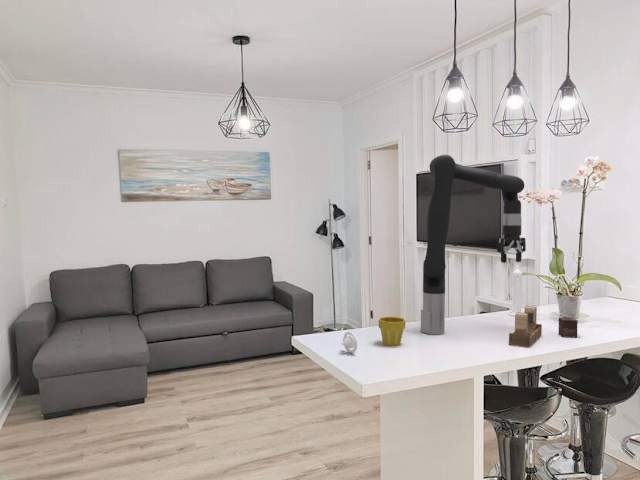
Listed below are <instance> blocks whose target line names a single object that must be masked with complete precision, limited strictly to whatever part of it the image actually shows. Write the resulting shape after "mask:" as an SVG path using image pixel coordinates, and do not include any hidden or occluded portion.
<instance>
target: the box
mask: <svg viewBox="0 0 640 480" xmlns="http://www.w3.org/2000/svg"><path fill="white" fill-rule="evenodd" d="M557 333H558V335H559V336H561V337H562V338H575V339H576V338H578V320H577V319H576V318H575V317H572V316H571V317H570V316H569V317H567V316H566V317H565V316H560V317H558V332H557Z"/></svg>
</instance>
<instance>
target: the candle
mask: <svg viewBox="0 0 640 480" xmlns="http://www.w3.org/2000/svg"><path fill="white" fill-rule="evenodd" d="M511 273H512V274H511V275H512V276H511V277H512V278H511V279H512V280H511V281H512V282H511V312H509V313H508V316H510V317H514V318H515V314H516V313H517V312H520V313H522V298H523V297H522V295H523V293H522V292H523V291H522V290H523V289H522V288H523V272H522V271H521V270H520V269H519V265H516V268H515V270H514V271H512V272H511ZM517 276H518V277H517Z"/></svg>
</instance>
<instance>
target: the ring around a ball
mask: <svg viewBox="0 0 640 480" xmlns="http://www.w3.org/2000/svg"><path fill="white" fill-rule="evenodd" d="M348 335H349V336H348ZM340 344H341V345H343V346H344V348H345V351H346V352H347V353H349V354H353V353H355V352H356V351H357V349H358V339H357V336H356V334H355V333H354V332H353V331H350V330H348V331H345V333H344V335H343V340H342V342H341V343H340Z"/></svg>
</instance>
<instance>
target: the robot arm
mask: <svg viewBox="0 0 640 480" xmlns="http://www.w3.org/2000/svg"><path fill="white" fill-rule="evenodd" d="M429 171H430V173H431V174H432V175H433V176H434V182H433V183H434V184H433V185H434V187H433V192H432V194H431V197H430V200H429V204H428V207H427V208H428V209H427V218H426V220H427V221H426V235H427V238H426V239H427V245H426V247H427V248H426V250H425V251H426V253H425V257H424V261H423V263H422V264H423V266H422V268H423V269H422V309H421V310H420V332H421V333H424V334H427V335H443V334H445V332H446V331H445V328H446V327H445V325H446V321H445V320H446V319H445V318H446V317H445V316H446V314H445V313H446V244H447V238H448V233H449V228H450V220H451V206H452V187H453V182H454V180H458V181H462V182H467V183H470V184H471V183H472V184H473V185H474V184H475V185H478V186H481V187H484V188H488V189H492V190H501V196H502V201H503V214H502V235H503V238H502V237H501V238H499V237H498V238H497V247H496V251H497V253H499V254H500V262H501V263H502V264H504V263H505V264H506V263H507V261H508V260H507V258H508V255H507V253H508V252H509V251H510V249H513V250H514V251H515V262H516V263H521V262H522V257H523V256H522V254H523V253H525V252H526V251H527V248H526V243H527V241H526V237H520V236H521V235H522V202H521V200H519V197H518V196H519V195H518V194H520V193H522V191H523V190H524V189H525V182H524V180H523V178H521V177H519V176H515V175H510V174H504V173H499V172H496V171H493V170H488V169H486V168H480V167H473V166H472V167H471V166H467V165H462V164H459V163H456V161H455V159H454V158H453V156H451V155H449V154H441V155H438V156H436V157H434V158H433V159H432V160H431V161H430V163H429Z"/></svg>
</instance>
